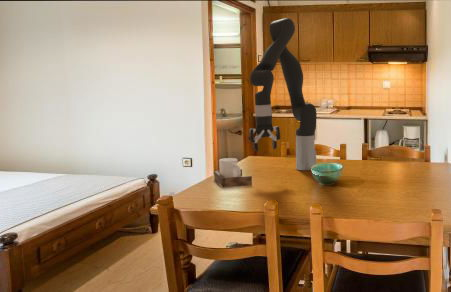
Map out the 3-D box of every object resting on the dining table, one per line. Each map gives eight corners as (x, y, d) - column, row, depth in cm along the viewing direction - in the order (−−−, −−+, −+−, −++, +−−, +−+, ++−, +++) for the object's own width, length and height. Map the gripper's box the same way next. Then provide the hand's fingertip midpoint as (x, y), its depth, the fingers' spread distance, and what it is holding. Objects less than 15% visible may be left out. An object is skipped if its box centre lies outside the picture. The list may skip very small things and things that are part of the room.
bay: (241, 177, 240) (241, 169, 239) (251, 185, 223) (251, 176, 222) (214, 179, 237) (214, 171, 236) (222, 187, 220) (222, 178, 219)
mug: (247, 182, 228) (246, 160, 226) (233, 185, 223) (232, 162, 221) (230, 179, 237) (229, 157, 236) (216, 181, 232) (215, 159, 230)
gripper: (275, 112, 234) (277, 147, 236) (246, 115, 230) (248, 150, 233) (281, 114, 226) (282, 149, 229) (251, 116, 223) (253, 152, 225)
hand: (265, 150), depth 231 cm, fingers open, 8 cm apart
